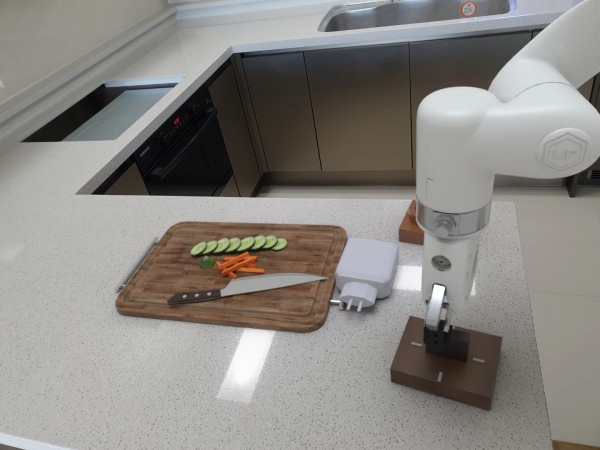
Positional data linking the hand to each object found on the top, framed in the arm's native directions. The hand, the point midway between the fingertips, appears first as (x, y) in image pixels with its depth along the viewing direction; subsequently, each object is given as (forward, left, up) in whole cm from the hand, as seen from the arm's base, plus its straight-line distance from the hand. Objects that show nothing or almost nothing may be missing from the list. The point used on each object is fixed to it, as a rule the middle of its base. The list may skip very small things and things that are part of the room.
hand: (445, 316), depth 59 cm
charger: (+16, -11, -10) cm, 22 cm away
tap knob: (0, 0, -7) cm, 7 cm away
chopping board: (+41, -9, -11) cm, 43 cm away
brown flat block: (0, 0, -10) cm, 10 cm away
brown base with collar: (+8, -30, -10) cm, 33 cm away
